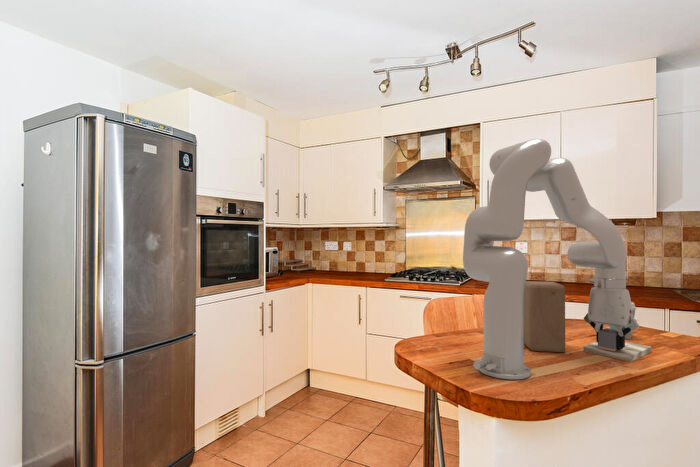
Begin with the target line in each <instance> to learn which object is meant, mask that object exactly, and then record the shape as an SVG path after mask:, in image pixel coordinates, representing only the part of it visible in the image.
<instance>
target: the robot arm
mask: <svg viewBox="0 0 700 467" xmlns="http://www.w3.org/2000/svg"><path fill="white" fill-rule="evenodd" d="M551 156H552V146H551V145H550V143H549V142H548V140H545V139H542V138H533V139H529V140H525V141H522V142H519V143H515V144H514V145H509V146H507V147H502V148H499V149H498V150H496V151H495V152H494V153H493V154H492V155H491V157H490V159H489V164H488V165H489V170H490V172H491V173H492V174H493V178H492V181H491V185H490V192H489V193H490V194H489V198H488V199H489V201H488V205H486V206H479V207H477V208H475V209H473V210H472V211H471V212H470V213H469V215H468V216H467V218H466V221H465V224H464V234H463V250H462V251H463V253H462V265H463V269H464V272H465V273H466V275H467V276H468V277H469V278H471V279H473V280H476V281H480V282H486V283H488V286H487V287H486V290H485V292H484V295H483V301H482V302H483V303H482V304H483V305H482V307H483V308H482V310H483V312H482V313H483V353H482V354H481V359H480V360H477V361H476V360H475V361H474V362H473V367H474V368H475V370H478V371H479V372H480V373H481V374H484V375H486V376H490V377H493V378H496V379H502V380H514V381H515V380H524V379H527V378H529V377H530V376H531V375H532V369H531V368H530V367H529V366H528V365H526V364H525V343H524V287H525V281H527V277H528V272H529V271H528V270H529V263H528V259H527V257H526V255H525V254H524V253H523V252H522V251H521V250H519V249H518V248H515V247H511V246H503V245H502V246H501V245H500V246H498V245H497V246H495V244H494V243H495V242H510V241H515V240H518V239H519V238H520V237H521V235H522V234H523V230H524V225H525V208H526V194H527V192H529V193H530V192H532V193H533V192H534V193H535V192H541V191H544V192H545V194H546V196H547V198H548V200H549V202H550V205H551V207H552V209H553V212H554V215H555V216H556V217H557V219H560V220H561V221H563V222H566V223H568V224H570V225H573V226H575V227H579V228H581V229H582V230H584V231H587V233H590V235H591V236H593V237H594V239H596V240H592V241H591V240H583V241H576V242H574V243H572V244H571V245H570V246H569V248H568V250H567V254H566V256H567V258H568V261H569V262H570V263H571V264H573V265H574V266H577V267H581V268H592V269H594V277H593V278H589V283H590V284H593V286H594V287H591V289H590V293H589V299H588V306H587V307H588V309H587V313H586V315H585V316H584V317H583V320H584V321H585V322H586V323H587V324H589V325H590V326H591V328H592V329H594V331H595V333H596V341H595V342H598V331H599V330H602V329H604V327H605V326H604V325H609V324H610V325H616V326H617V331H618V336H616V349H617V350H621V349H623V347H625V342H626V339H625V335H626V334H628V333H629V332H630V331H632V330H633V331H634V330H637V329H639V328H640V324H639V323H638V322H637V320H636V318H635V316H634V317H633V315H632V304H631V302H632V301H631V300H632V299H631V295H630V290H628V289H627V281H626V280H627V268H626V267H627V264H626V263H627V262H626V261H627V250H626V245H625V244H624V243H625V242H624V240H623V238H622V235H621V233H620V231H619V229H618V227H617V226H616V225H615V224H614V223H613V221H611V219H610V218H608V217H607V216H606V215H604V214H603V213H602V212H600V211H599V210H598V209H597V208H594V207H593V206H591V204H590V203H589V200H588V199H587V196H586V193H585V190H584V188H583V186H582V184H581V182H580V179H579V176H578V174H577V172H576V169H575V167H574V165H573V163H572V162H571V161H570V160H569V159H568V158H566V157H552V158H551ZM627 324H631V326H629V327H627V328H626V327H625V325H627Z"/></svg>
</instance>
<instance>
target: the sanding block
mask: <svg viewBox="0 0 700 467" xmlns="http://www.w3.org/2000/svg"><path fill="white" fill-rule="evenodd" d="M616 336H618V331H617V330H616V329H610V327H606V328H603V329H602V330H599V331H598V348H600V349H605V350H610V351H616V350H617V349H616Z"/></svg>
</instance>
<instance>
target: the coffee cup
mask: <svg viewBox="0 0 700 467" xmlns="http://www.w3.org/2000/svg"><path fill="white" fill-rule="evenodd" d="M631 304H632V315H633V317H634V318H635V316H636V310H637V307H636V305H635V302H633V301H631ZM608 326H609V327H608V328H610V329H616V330H617V326H616V325H610V324H608ZM629 326H631V324H627V325H625V327H626V328H627V327H629ZM633 331H634V330H632V331H630V332H629V333H628V334H626V335H625V340H632V338H633V337H632V336H633Z"/></svg>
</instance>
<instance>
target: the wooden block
mask: <svg viewBox="0 0 700 467" xmlns="http://www.w3.org/2000/svg"><path fill="white" fill-rule="evenodd" d="M524 346H526V347H527V348H528V349H529V350H530V351H532V352H533V351H534V352H546V353H547V352H551V353H564V352H565V351H566V287H565V286H564V285H562V284H561V283H557V282H554V281H529V280H526V281H525V287H524Z"/></svg>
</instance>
